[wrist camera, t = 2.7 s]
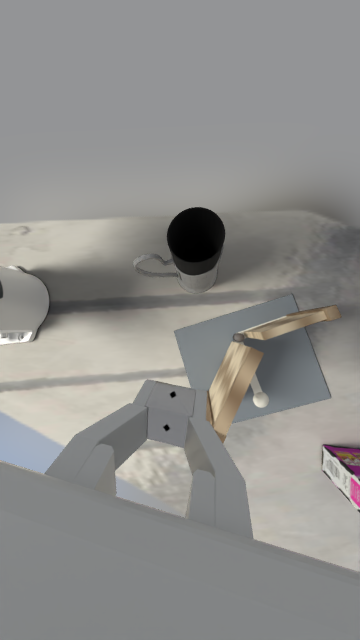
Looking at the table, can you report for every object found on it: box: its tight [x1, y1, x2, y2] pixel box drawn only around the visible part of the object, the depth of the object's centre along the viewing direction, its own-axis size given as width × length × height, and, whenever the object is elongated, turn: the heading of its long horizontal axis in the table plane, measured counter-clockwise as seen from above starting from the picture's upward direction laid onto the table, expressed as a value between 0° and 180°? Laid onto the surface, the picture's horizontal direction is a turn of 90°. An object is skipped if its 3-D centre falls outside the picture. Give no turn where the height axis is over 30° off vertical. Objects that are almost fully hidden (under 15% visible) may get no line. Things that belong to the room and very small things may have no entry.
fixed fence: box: [233, 305, 341, 342], centre depth 29 cm, size 13×2×11 cm, turn 110°
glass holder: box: [133, 207, 225, 293], centre depth 30 cm, size 9×14×15 cm, turn 106°
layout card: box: [174, 294, 331, 424], centre depth 34 cm, size 25×21×1 cm
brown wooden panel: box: [206, 341, 264, 443], centre depth 28 cm, size 12×2×14 cm, turn 155°
